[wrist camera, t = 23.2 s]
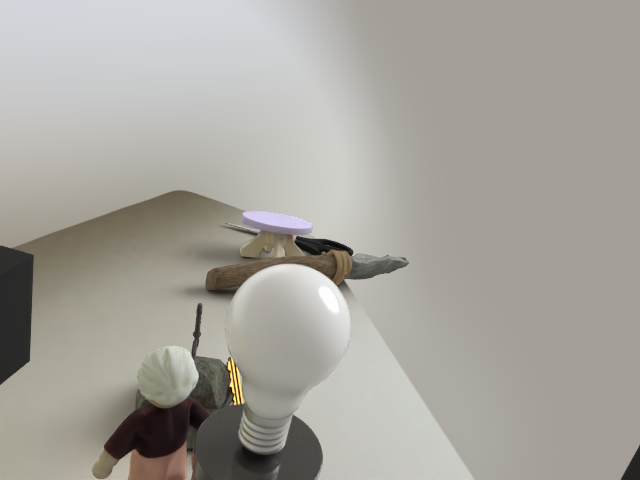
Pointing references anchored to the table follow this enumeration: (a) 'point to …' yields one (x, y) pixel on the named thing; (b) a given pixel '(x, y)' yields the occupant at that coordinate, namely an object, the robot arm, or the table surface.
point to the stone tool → (330, 265)
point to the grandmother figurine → (158, 420)
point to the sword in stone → (204, 383)
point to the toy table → (274, 233)
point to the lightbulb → (283, 346)
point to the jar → (248, 467)
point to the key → (234, 382)
